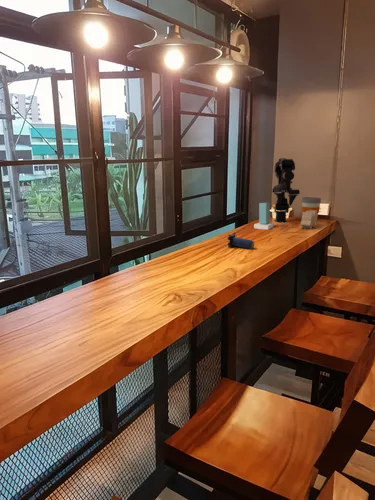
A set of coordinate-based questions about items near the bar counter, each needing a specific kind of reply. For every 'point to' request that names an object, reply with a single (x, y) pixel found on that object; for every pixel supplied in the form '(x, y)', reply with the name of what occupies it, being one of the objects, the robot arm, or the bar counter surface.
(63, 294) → the bar counter surface
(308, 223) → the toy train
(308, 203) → the reusable coffee cup
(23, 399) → the bar counter surface
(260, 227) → the base brick
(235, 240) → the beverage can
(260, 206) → the teal column
